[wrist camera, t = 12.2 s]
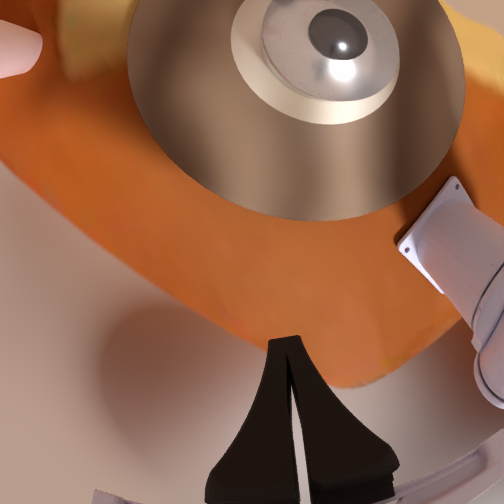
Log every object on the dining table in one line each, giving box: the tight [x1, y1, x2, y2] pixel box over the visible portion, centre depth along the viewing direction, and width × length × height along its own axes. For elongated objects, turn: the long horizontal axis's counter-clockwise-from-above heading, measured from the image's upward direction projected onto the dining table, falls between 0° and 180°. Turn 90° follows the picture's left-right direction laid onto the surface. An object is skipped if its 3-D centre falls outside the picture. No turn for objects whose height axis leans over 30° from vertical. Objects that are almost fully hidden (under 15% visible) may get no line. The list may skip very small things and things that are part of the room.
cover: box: [260, 0, 399, 102], centre depth 10 cm, size 7×7×3 cm
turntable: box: [127, 0, 465, 221], centre depth 11 cm, size 22×22×4 cm
